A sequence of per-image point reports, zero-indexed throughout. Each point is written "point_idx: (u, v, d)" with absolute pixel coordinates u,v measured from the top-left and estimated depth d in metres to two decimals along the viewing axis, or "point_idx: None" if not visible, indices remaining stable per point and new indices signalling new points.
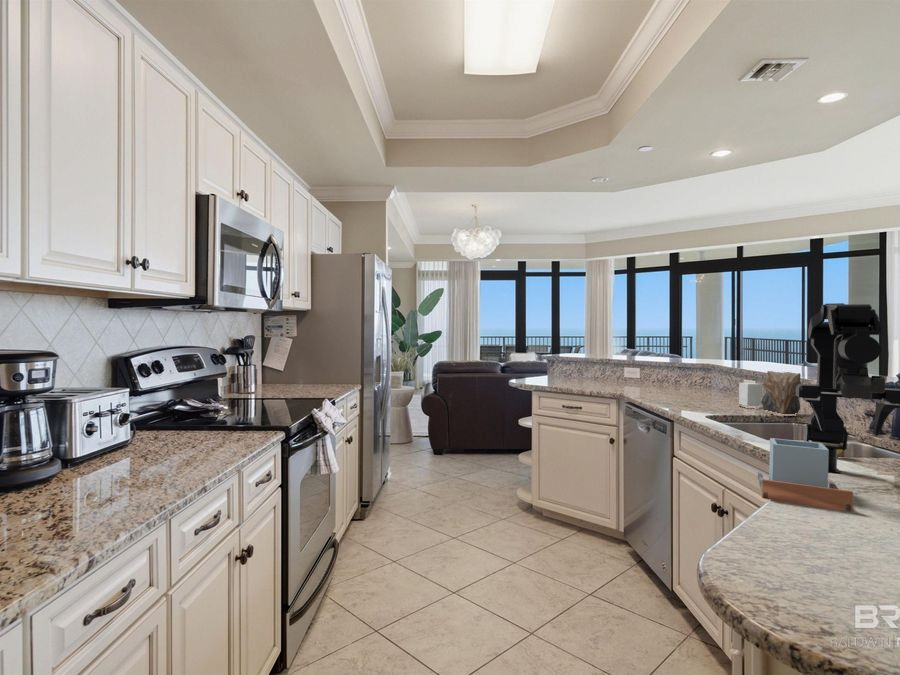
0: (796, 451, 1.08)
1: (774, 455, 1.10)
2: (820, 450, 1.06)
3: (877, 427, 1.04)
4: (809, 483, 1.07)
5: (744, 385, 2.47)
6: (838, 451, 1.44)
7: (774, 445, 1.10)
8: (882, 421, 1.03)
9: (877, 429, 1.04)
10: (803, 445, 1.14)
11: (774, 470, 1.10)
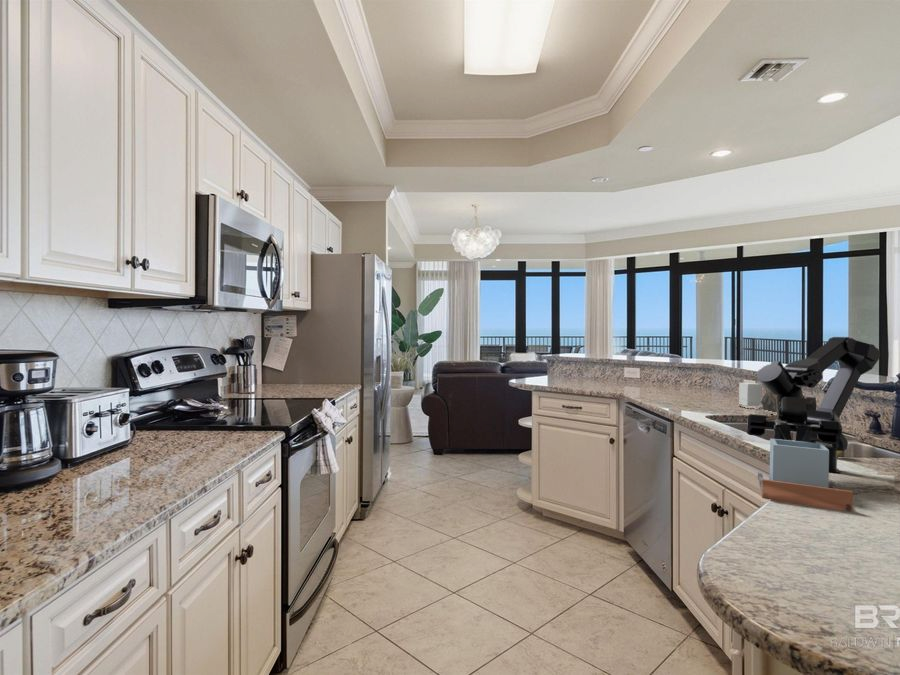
0: (796, 451, 1.08)
1: (774, 455, 1.10)
2: (820, 450, 1.06)
3: None
4: (809, 484, 1.07)
5: (744, 385, 2.47)
6: (838, 451, 1.44)
7: (774, 445, 1.10)
8: None
9: None
10: (803, 446, 1.13)
11: (774, 471, 1.10)
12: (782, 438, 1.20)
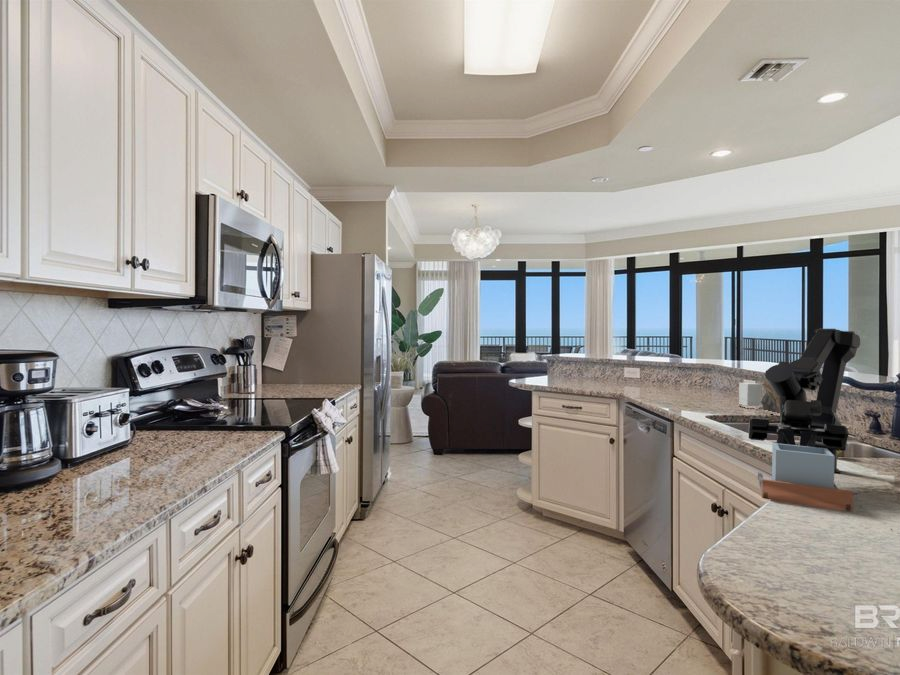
0: (800, 457, 1.03)
1: (777, 461, 1.05)
2: (825, 456, 1.01)
3: None
4: None
5: (744, 385, 2.47)
6: (838, 451, 1.44)
7: (777, 451, 1.05)
8: None
9: None
10: (807, 451, 1.08)
11: (777, 477, 1.05)
12: (785, 443, 1.15)
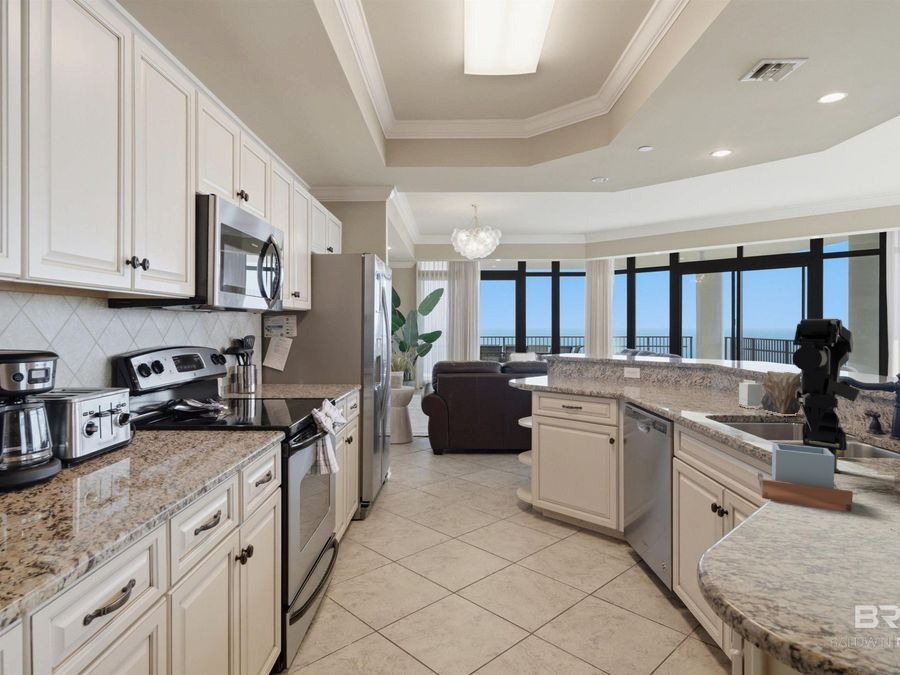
0: (800, 457, 1.03)
1: (777, 461, 1.05)
2: (825, 456, 1.01)
3: None
4: None
5: (744, 385, 2.47)
6: (838, 451, 1.44)
7: (777, 451, 1.05)
8: None
9: None
10: (807, 451, 1.08)
11: (777, 477, 1.05)
12: (809, 408, 1.21)
